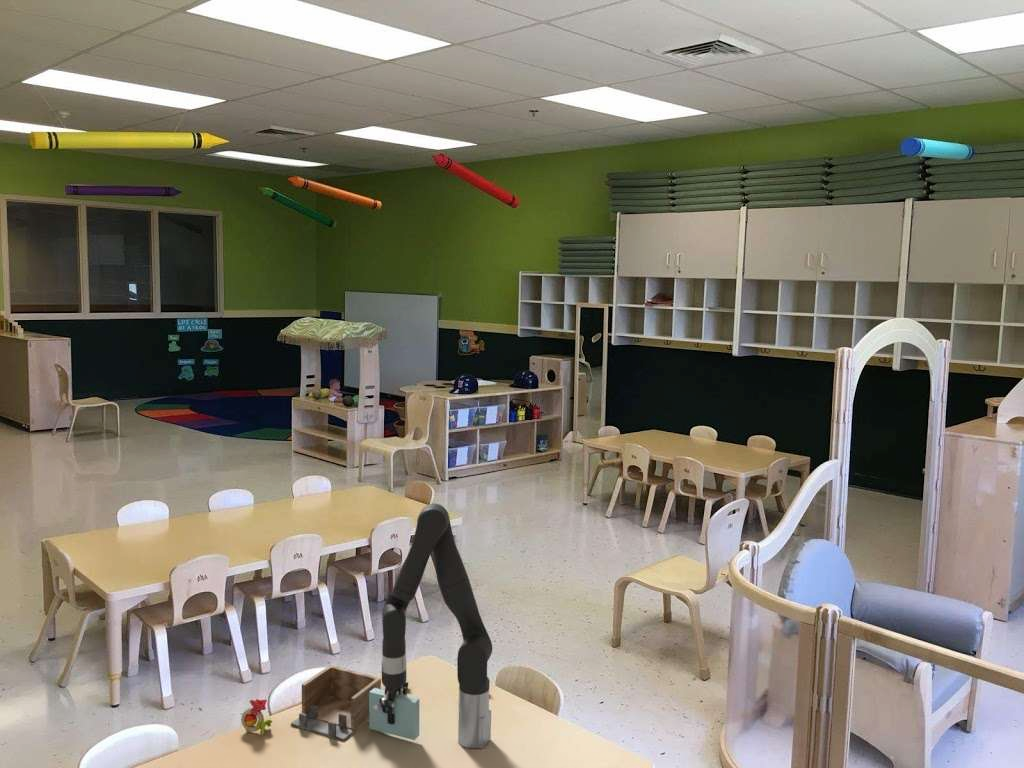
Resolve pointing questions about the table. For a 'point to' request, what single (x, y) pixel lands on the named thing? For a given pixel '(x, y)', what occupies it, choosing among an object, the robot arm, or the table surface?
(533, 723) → the table surface
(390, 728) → the door
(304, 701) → the cabinet
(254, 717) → the bird rattle
